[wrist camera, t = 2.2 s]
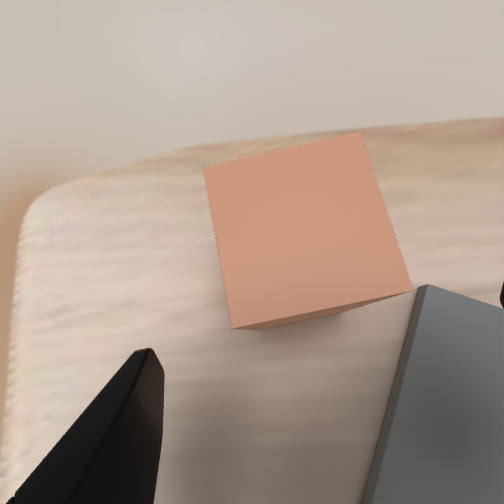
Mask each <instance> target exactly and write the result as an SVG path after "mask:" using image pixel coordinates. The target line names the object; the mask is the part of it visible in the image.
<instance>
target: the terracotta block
mask: <svg viewBox="0 0 504 504" xmlns="http://www.w3.org/2000/svg"><path fill="white" fill-rule="evenodd" d="M203 172H204V177H205V183H206V188H207V194H208V200H209V205H210V211H211V216H212V222H213V227H214V233H215V238H216V244H217V249H218V255H219V261H220V266H221V272H222V277H223V283H224V288H225V294H226V299H227V305H228V310H229V316H230V322H231V327H232V329H250V330H259V329H264V328H269V327H274V326H278V325H283V324H288V323H293V322H297V321H302V320H307V319H312V318H317V317H321V316H326V315H331V314H336V313H340V312H344V311H348V310H351V309H354V308H358V307H361V306H364V305H367V304H371V303H374V302H377V301H380V300H384V299H387V298H390V297H393V296H397V295H400V294H403V293H407V292H410V291H413V287H412V284H411V281H410V278H409V275H408V272H407V269H406V266H405V263H404V260H403V257H402V254H401V251H400V248H399V245H398V242H397V239H396V236H395V233H394V230H393V227H392V224H391V221H390V218H389V215H388V212H387V209H386V207H385V204H384V201H383V198H382V195H381V192H380V189H379V186H378V183H377V180H376V177H375V174H374V171H373V168H372V165H371V162H370V159H369V156H368V153H367V150H366V147H365V144H364V141H363V138H362V135H361V132H356V133H352V134H348V135H343V136H339V137H335V138H330V139H326V140H322V141H317V142H313V143H309V144H304V145H300V146H296V147H291V148H287V149H282V150H278V151H274V152H269V153H265V154H261V155H256V156H252V157H248V158H243V159H239V160H235V161H230V162H226V163H222V164H217V165H213V166H208V167H204V168H203Z"/></svg>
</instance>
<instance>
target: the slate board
mask: <svg viewBox="0 0 504 504" xmlns="http://www.w3.org/2000/svg"><path fill="white" fill-rule="evenodd" d="M362 504H504V309H502V308H499V307H496V306H493V305H490V304H487V303H484V302H481V301H478V300H475V299H472V298H469V297H466V296H463V295H460V294H457V293H454V292H451V291H448V290H445V289H441V288H438V287H435V286H432V285H429V284H427V285H424V286H421V287H419V288H418V291H417V295H416V299H415V303H414V307H413V310H412V314H411V318H410V322H409V326H408V330H407V333H406V337H405V341H404V345H403V349H402V352H401V356H400V360H399V364H398V368H397V371H396V375H395V379H394V383H393V387H392V390H391V394H390V398H389V402H388V406H387V409H386V413H385V417H384V421H383V425H382V429H381V432H380V436H379V440H378V444H377V448H376V451H375V455H374V459H373V463H372V467H371V470H370V474H369V478H368V482H367V486H366V489H365V493H364V497H363V501H362Z"/></svg>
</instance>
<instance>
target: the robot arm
mask: <svg viewBox="0 0 504 504" xmlns="http://www.w3.org/2000/svg"><path fill="white" fill-rule="evenodd" d="M500 302H501V305H502V307H503V308H504V282H503V286H502V290H501V294H500ZM163 410H164V370H163V367H162V365H161V363H160V362H159V360H158V358H157V356H156V354H155V352H154V351H153V349H151V348H145V349H141V350H137V351H135V352H134V353H133V354H132V355H131V356H130V357H129V358H128V359H127V361H126V362H125V363H124V364H123V365H122V367H121V368H120V369H119V370H118V371H117V372H116V374H115V375H114V376H113V377H112V378H111V380H110V381H109V382H108V383H107V384H106V386H105V387H104V388H103V389H102V390H101V391H100V393H99V394H98V395H97V396H96V397H95V399H94V400H93V401H92V402H91V403H90V405H89V406H88V407H87V408H86V409H85V410H84V412H83V413H82V414H81V415H80V416H79V418H78V419H77V420H76V421H75V422H74V423H73V425H72V426H71V427H70V428H69V429H68V431H67V432H66V433H65V434H64V435H63V437H62V438H61V439H60V440H59V441H58V442H57V444H56V445H55V446H54V447H53V448H52V450H51V451H50V452H49V453H48V454H47V456H46V457H45V458H44V459H43V460H42V461H41V463H40V464H39V465H38V466H37V467H36V469H35V470H34V471H33V472H32V473H31V475H30V476H29V477H28V478H27V479H26V480H25V482H24V483H23V484H22V485H21V486H20V488H19V489H18V490H17V491H16V492H15V496H14V497H11V498H10V499H9V500H8V502H7V503H6V504H154V496H155V489H156V482H157V475H158V467H159V460H160V453H161V445H162V435H163Z"/></svg>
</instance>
